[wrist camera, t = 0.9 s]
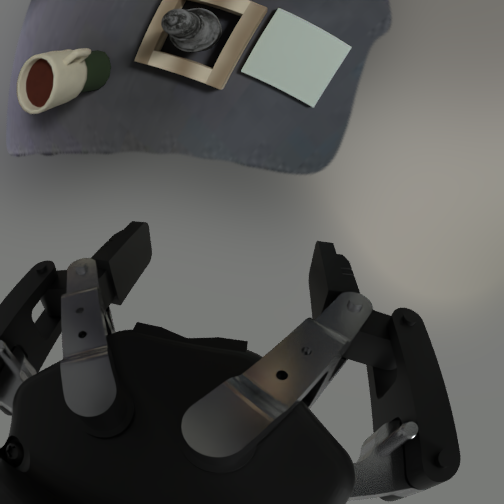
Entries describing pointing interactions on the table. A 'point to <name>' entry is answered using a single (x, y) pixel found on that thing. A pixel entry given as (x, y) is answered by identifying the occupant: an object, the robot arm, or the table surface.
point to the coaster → (296, 57)
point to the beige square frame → (216, 77)
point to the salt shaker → (192, 29)
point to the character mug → (60, 77)
